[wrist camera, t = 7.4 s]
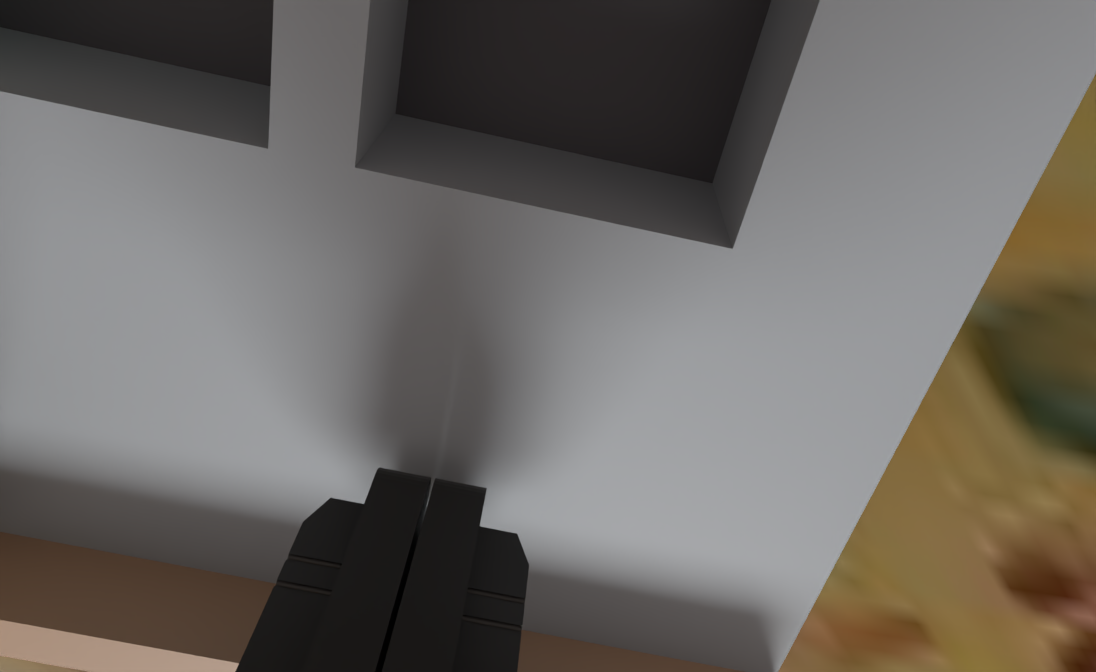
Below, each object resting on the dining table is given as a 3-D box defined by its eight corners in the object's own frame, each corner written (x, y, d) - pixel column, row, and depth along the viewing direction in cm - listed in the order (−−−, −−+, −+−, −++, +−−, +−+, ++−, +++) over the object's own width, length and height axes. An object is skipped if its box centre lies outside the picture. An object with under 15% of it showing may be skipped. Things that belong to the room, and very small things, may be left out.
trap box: (1114, -225, 10) (1465, -268, 6) (728, 613, 17) (766, 849, 13) (-565, -648, 9) (-1531, -1052, 5) (-215, 433, 16) (-484, 629, 12)
